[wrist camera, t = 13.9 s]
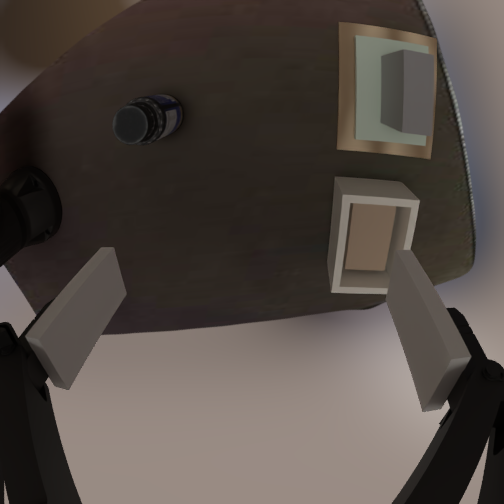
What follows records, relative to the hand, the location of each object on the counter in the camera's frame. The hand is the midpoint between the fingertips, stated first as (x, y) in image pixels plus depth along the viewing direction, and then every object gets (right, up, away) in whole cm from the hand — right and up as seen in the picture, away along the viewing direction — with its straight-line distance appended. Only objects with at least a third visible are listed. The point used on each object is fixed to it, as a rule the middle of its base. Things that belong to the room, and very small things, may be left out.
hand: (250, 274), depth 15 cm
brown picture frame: (+18, +23, +22) cm, 37 cm away
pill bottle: (-12, +21, +28) cm, 37 cm away
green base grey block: (+18, +22, +21) cm, 35 cm away
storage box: (+17, +5, +32) cm, 37 cm away
